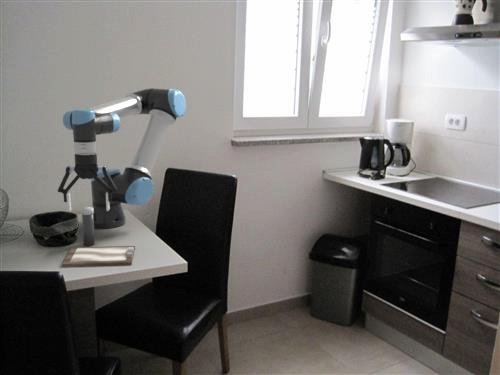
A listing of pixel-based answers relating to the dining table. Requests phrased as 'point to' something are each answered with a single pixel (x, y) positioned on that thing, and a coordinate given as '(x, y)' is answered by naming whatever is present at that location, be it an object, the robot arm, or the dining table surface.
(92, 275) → the dining table surface
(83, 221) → the marker
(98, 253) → the clipboard
